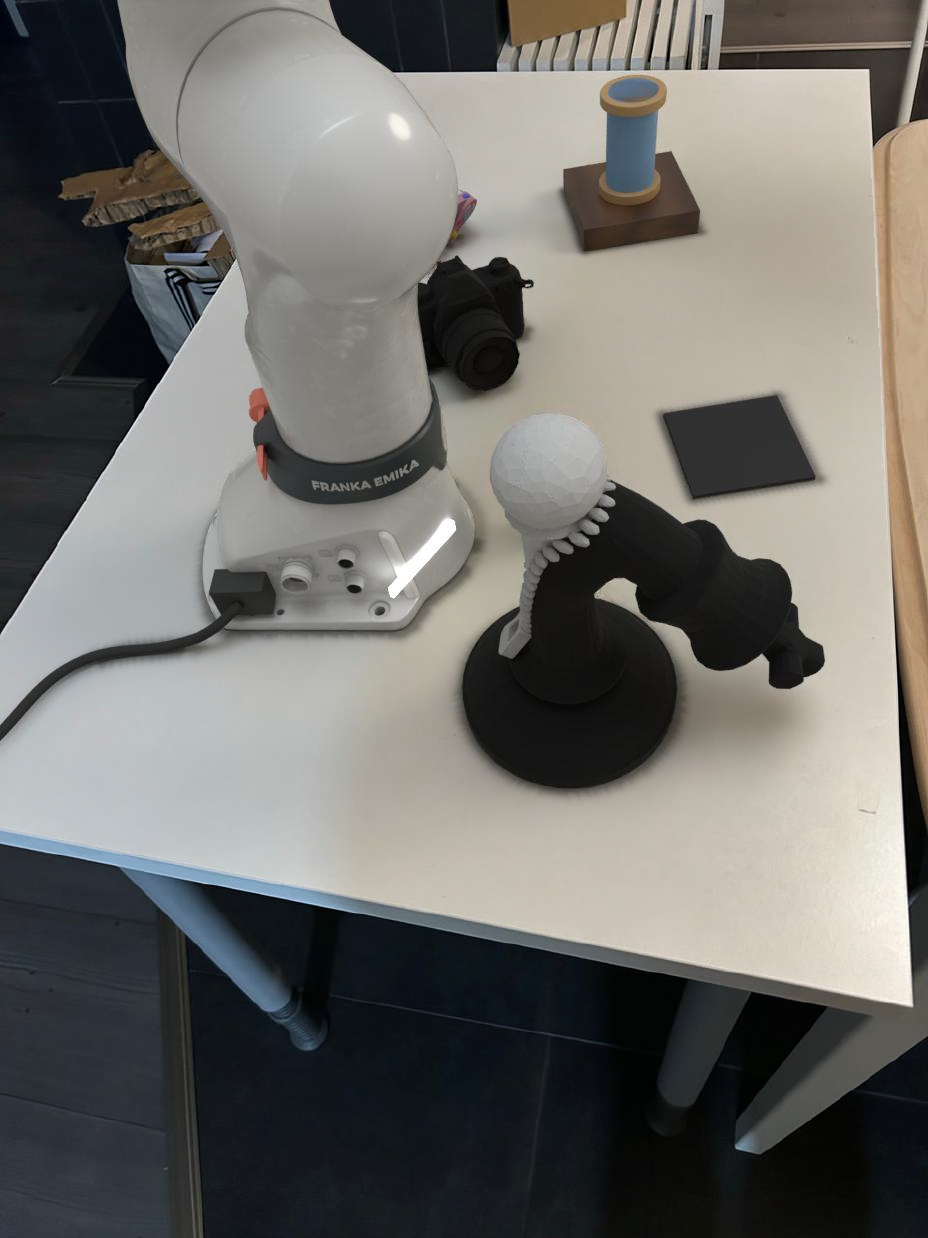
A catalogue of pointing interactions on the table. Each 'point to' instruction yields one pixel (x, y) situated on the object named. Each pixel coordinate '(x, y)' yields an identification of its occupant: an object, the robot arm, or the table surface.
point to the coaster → (737, 447)
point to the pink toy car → (462, 212)
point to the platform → (630, 207)
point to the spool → (631, 138)
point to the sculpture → (609, 614)
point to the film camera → (473, 320)
